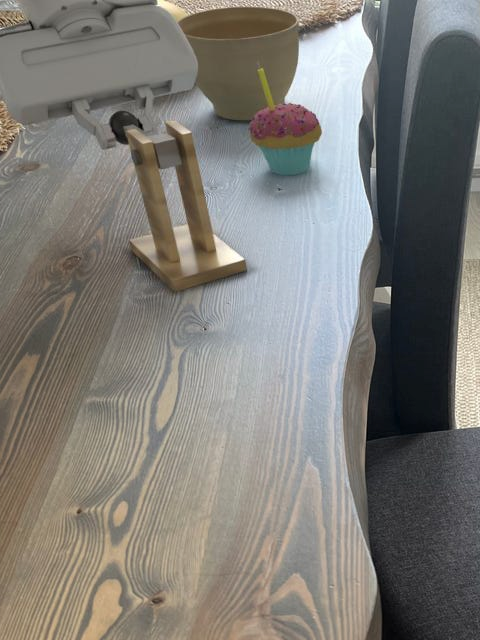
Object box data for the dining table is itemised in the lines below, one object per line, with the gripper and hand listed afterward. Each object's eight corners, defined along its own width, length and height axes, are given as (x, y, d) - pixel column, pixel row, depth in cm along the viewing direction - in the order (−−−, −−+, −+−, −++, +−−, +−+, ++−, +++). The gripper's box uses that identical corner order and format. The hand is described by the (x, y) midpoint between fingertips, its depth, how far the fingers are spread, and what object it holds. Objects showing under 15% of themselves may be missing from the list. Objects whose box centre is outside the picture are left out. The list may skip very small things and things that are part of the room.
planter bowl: (264, 138, 131) (249, 44, 124) (168, 121, 137) (147, 30, 129) (332, 100, 141) (321, 12, 134) (239, 86, 147) (224, 0, 139)
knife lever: (109, 144, 107) (100, 111, 104) (138, 137, 108) (129, 105, 106) (157, 175, 98) (148, 140, 96) (187, 167, 99) (179, 132, 97)
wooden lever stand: (131, 250, 108) (97, 123, 99) (200, 231, 111) (173, 106, 102) (174, 292, 101) (141, 158, 92) (247, 270, 104) (222, 139, 95)
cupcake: (266, 186, 120) (247, 75, 111) (247, 162, 125) (228, 55, 117) (334, 173, 122) (321, 64, 114) (313, 150, 128) (299, 44, 119)
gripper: (-34, 11, 97) (31, 146, 98) (166, -22, 105) (223, 103, 106) (-28, 53, 103) (33, 179, 104) (160, 18, 111) (215, 136, 112)
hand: (130, 140), depth 105 cm, fingers closed on knife lever, 3 cm apart
